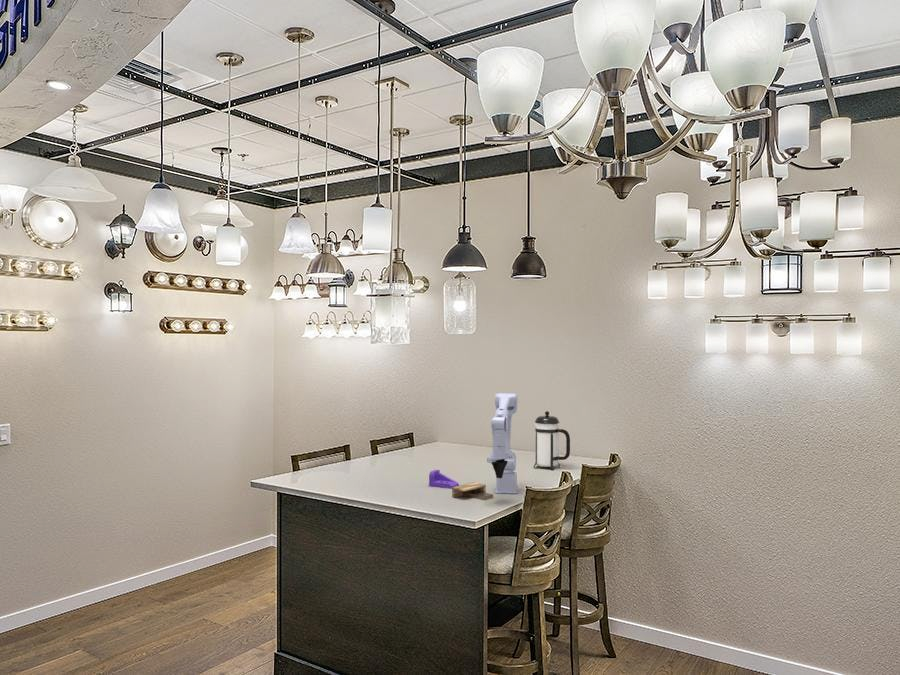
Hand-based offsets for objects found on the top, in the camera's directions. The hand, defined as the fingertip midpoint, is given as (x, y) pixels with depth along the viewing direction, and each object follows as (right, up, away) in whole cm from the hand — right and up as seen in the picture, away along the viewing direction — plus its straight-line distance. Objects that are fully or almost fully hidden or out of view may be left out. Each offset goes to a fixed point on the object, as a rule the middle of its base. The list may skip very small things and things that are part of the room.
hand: (499, 477), depth 277 cm
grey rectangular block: (-8, -10, +8) cm, 16 cm away
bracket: (-23, -10, +28) cm, 38 cm away
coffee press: (+32, -11, +73) cm, 81 cm away
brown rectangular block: (-12, -10, +9) cm, 18 cm away
